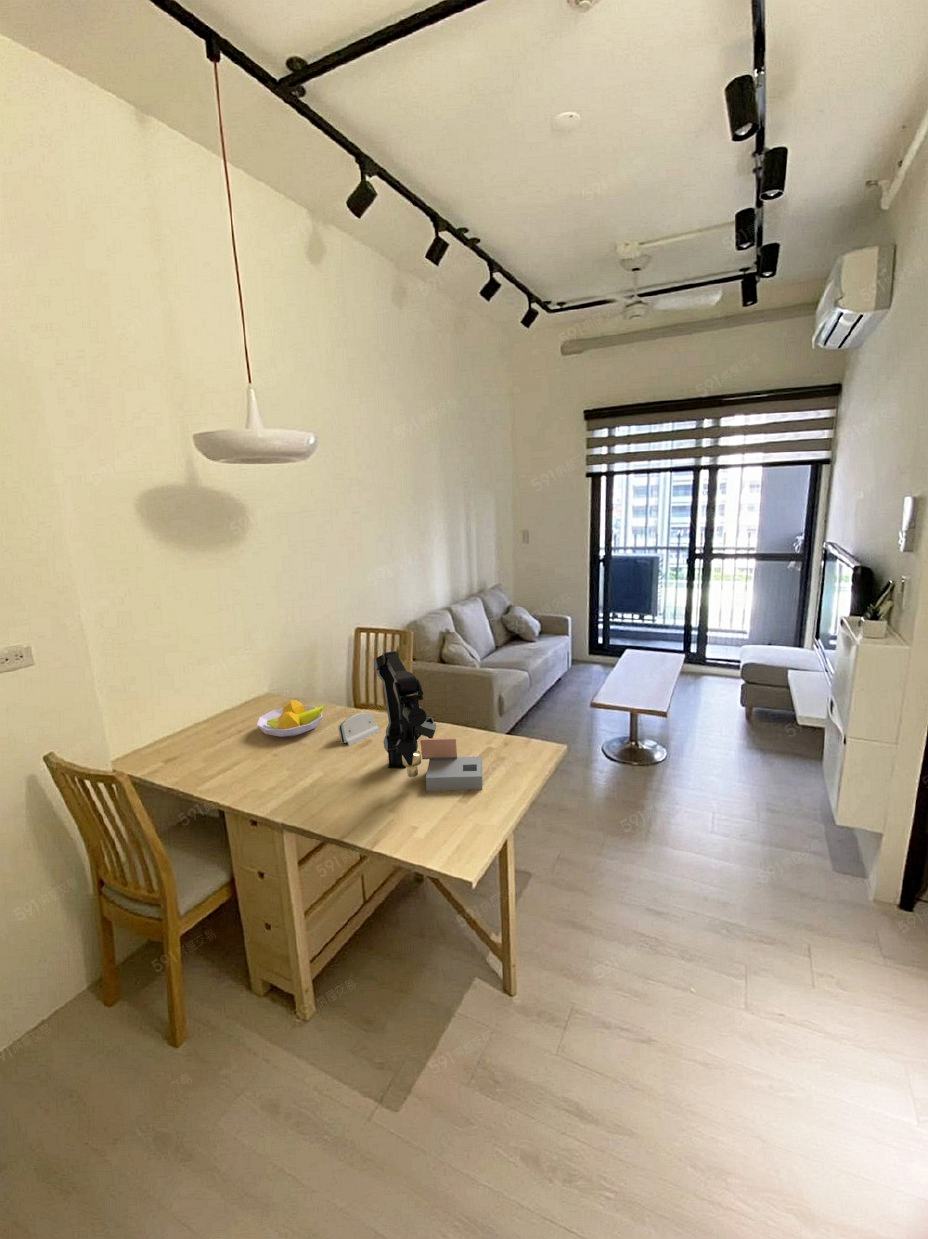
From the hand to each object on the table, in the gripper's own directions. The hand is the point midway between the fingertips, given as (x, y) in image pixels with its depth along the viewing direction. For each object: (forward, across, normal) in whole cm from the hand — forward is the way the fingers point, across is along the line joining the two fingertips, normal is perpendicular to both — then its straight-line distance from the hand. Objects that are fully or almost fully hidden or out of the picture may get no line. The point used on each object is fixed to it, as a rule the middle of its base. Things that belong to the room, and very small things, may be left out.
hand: (411, 760), depth 178 cm
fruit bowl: (+10, +50, +57) cm, 76 cm away
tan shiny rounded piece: (+5, 0, 0) cm, 5 cm away
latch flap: (+4, +11, -8) cm, 14 cm away
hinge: (+10, +42, +27) cm, 51 cm away
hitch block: (+10, +5, -13) cm, 17 cm away
